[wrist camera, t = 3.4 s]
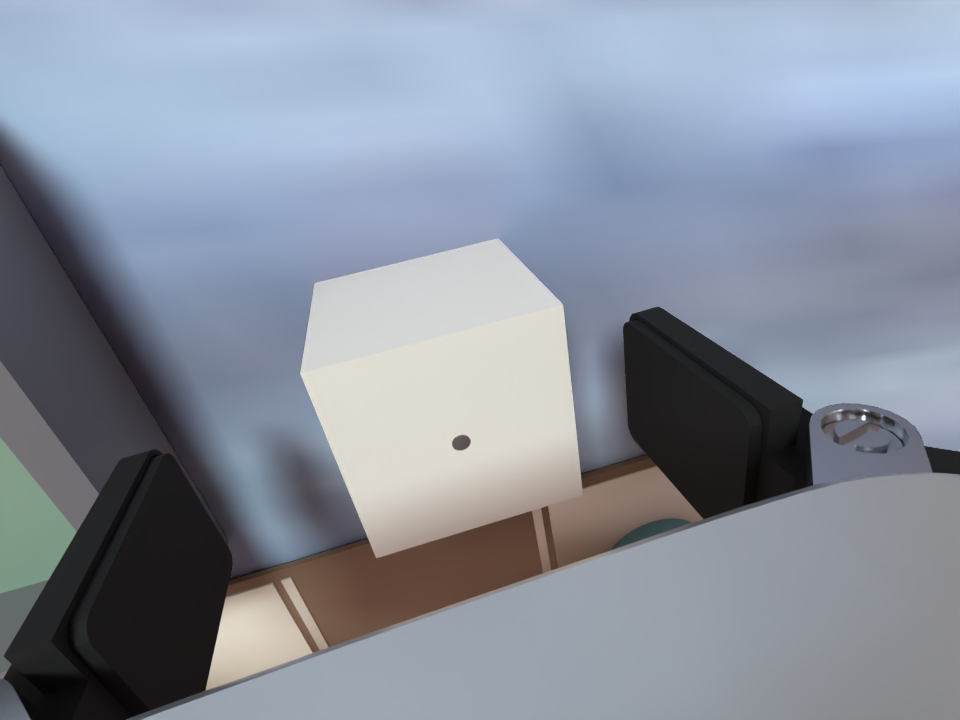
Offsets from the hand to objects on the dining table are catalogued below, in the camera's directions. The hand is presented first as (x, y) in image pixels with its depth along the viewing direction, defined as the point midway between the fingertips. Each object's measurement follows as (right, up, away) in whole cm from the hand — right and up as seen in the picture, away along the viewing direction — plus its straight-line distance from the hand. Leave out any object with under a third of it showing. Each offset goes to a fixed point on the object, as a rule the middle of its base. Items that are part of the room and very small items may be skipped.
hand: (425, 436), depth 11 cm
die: (0, +2, +3) cm, 4 cm away
